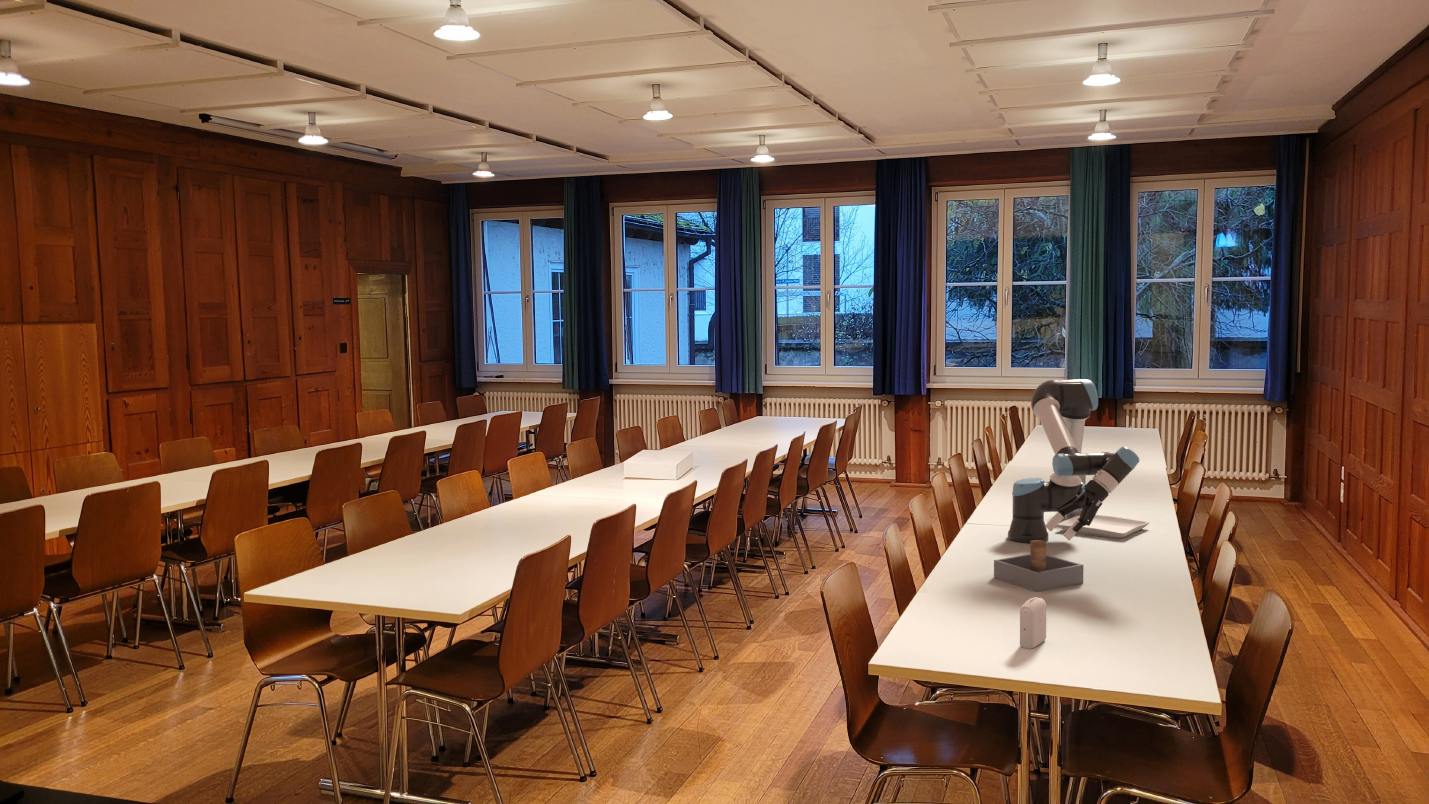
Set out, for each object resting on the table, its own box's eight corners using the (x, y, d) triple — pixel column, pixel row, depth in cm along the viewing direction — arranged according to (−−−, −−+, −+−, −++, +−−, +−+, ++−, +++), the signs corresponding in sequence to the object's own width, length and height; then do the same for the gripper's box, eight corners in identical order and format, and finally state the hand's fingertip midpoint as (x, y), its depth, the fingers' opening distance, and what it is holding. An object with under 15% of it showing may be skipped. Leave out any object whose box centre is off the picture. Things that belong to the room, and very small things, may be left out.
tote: (993, 577, 344) (993, 560, 343) (1038, 569, 353) (1038, 552, 352) (1037, 591, 326) (1037, 573, 325) (1083, 582, 335) (1083, 564, 334)
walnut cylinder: (1027, 575, 342) (1027, 540, 340) (1042, 574, 342) (1042, 539, 341) (1034, 579, 337) (1034, 543, 335) (1048, 578, 337) (1048, 543, 336)
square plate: (1124, 542, 390) (1124, 532, 390) (1055, 533, 409) (1055, 523, 408) (1149, 529, 410) (1150, 520, 410) (1083, 521, 429) (1083, 512, 428)
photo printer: (1033, 650, 272) (1033, 604, 271) (1017, 647, 275) (1017, 602, 274) (1048, 639, 280) (1048, 595, 279) (1033, 637, 283) (1033, 593, 282)
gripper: (1075, 472, 351) (1033, 517, 351) (1111, 485, 326) (1066, 534, 326) (1089, 487, 352) (1047, 532, 352) (1127, 501, 327) (1082, 549, 327)
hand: (1056, 533), depth 339 cm, fingers open, 13 cm apart
